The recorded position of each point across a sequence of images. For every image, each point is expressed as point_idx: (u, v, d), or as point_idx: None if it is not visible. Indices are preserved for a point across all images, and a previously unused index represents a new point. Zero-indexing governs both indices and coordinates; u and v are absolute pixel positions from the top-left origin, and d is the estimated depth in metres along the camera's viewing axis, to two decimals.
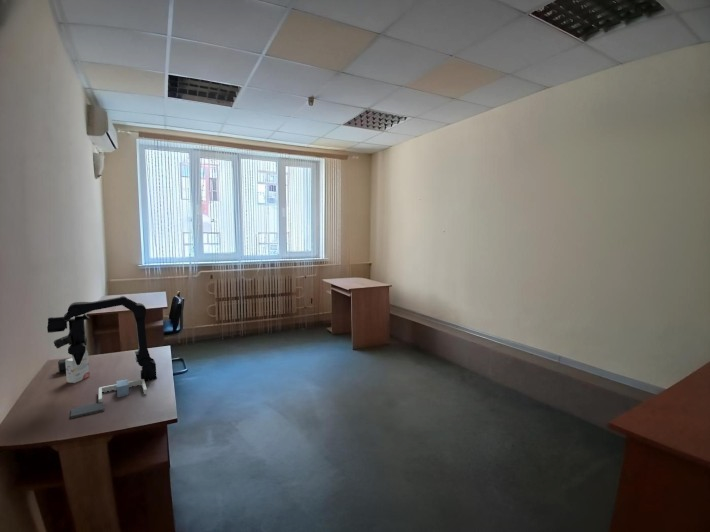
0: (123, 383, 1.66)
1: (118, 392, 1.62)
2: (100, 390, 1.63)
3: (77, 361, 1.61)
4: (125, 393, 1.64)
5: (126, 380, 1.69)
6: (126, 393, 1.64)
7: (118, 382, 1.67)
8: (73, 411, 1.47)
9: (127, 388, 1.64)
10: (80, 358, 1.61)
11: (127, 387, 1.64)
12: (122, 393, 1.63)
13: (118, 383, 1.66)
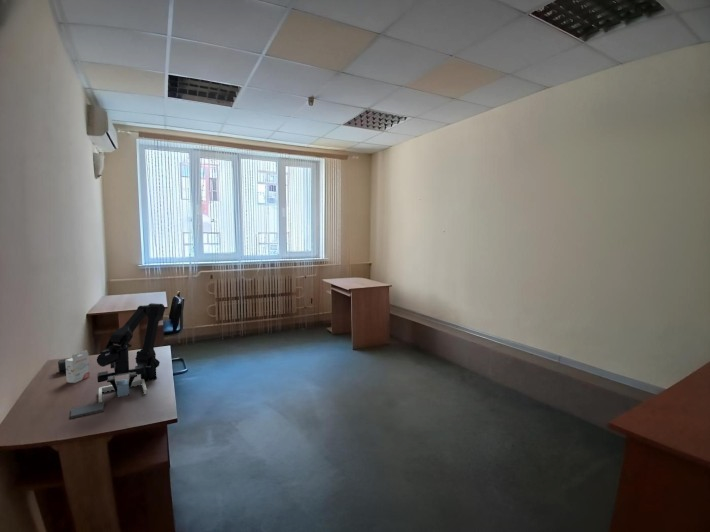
0: (123, 383, 1.66)
1: (118, 392, 1.62)
2: (100, 390, 1.63)
3: None
4: (125, 393, 1.64)
5: (126, 380, 1.69)
6: (126, 393, 1.64)
7: (118, 382, 1.67)
8: (73, 411, 1.47)
9: (127, 388, 1.64)
10: (113, 386, 1.64)
11: (127, 387, 1.64)
12: (122, 392, 1.63)
13: (118, 383, 1.65)
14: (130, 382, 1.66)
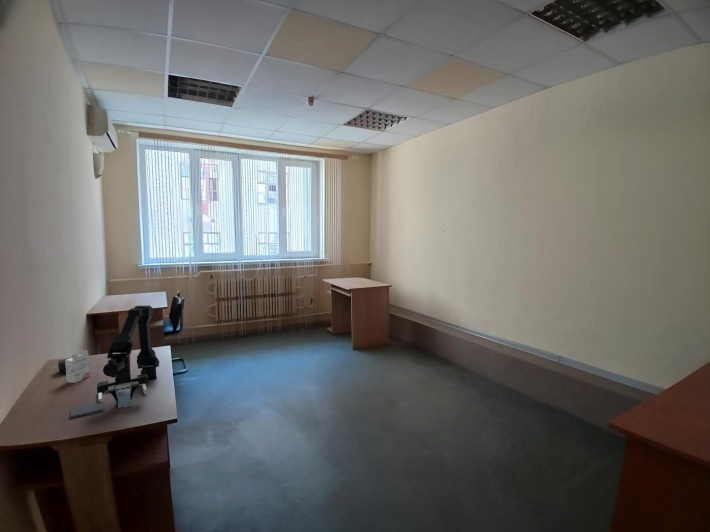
0: (124, 393, 1.55)
1: (119, 403, 1.52)
2: None
3: None
4: (127, 404, 1.53)
5: (127, 390, 1.58)
6: (128, 404, 1.54)
7: (119, 392, 1.56)
8: (73, 411, 1.47)
9: (129, 399, 1.54)
10: None
11: (129, 397, 1.54)
12: (124, 404, 1.53)
13: (119, 393, 1.55)
14: (132, 392, 1.56)
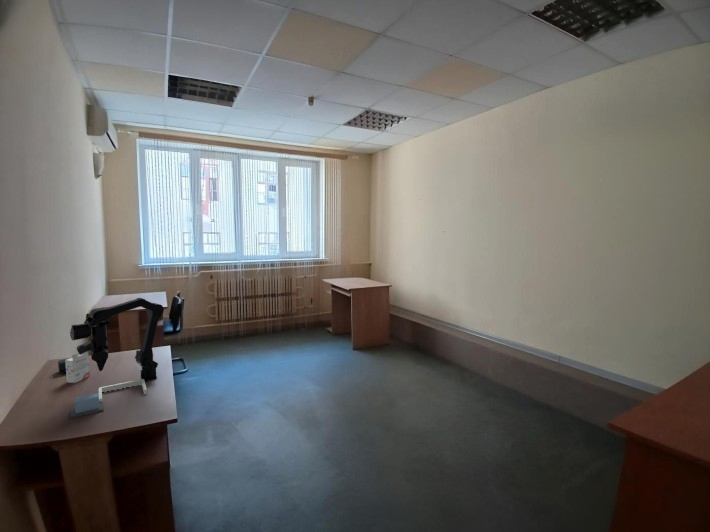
0: (89, 396, 1.50)
1: (98, 402, 1.50)
2: (100, 390, 1.63)
3: (100, 367, 1.61)
4: None
5: (80, 397, 1.49)
6: None
7: (82, 399, 1.47)
8: (73, 411, 1.47)
9: None
10: (103, 364, 1.62)
11: None
12: None
13: (86, 398, 1.48)
14: None
